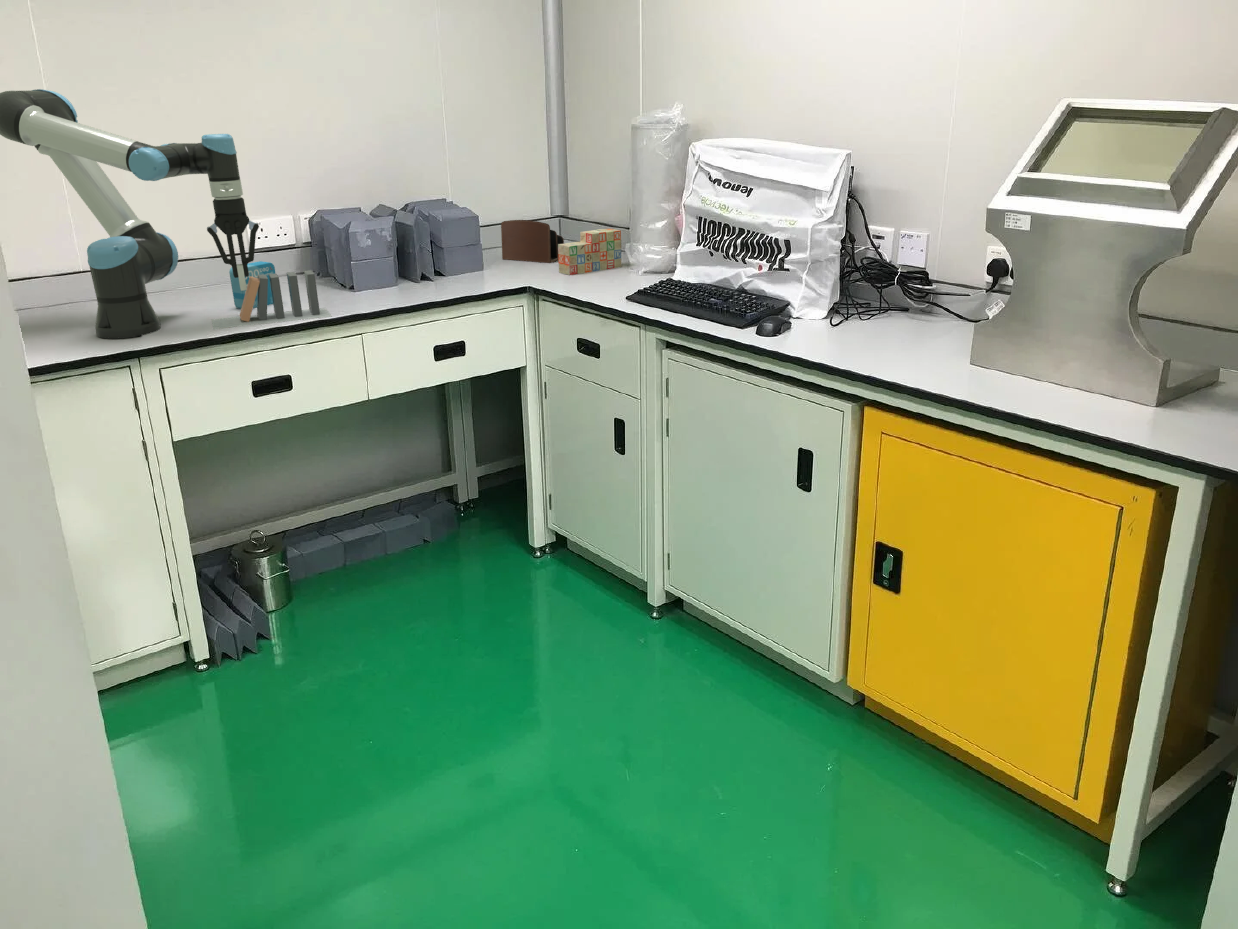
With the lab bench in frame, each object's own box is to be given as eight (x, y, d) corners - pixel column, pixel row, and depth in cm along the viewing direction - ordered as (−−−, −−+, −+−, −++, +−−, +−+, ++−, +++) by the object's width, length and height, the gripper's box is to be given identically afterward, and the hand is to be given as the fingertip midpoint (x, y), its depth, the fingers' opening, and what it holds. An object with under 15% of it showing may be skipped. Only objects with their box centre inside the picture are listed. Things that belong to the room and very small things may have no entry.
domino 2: (259, 319, 261) (259, 278, 258) (257, 315, 266) (257, 274, 263) (266, 319, 262) (267, 278, 259) (264, 315, 267) (265, 274, 264)
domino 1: (241, 319, 260) (251, 279, 257) (239, 315, 265) (250, 275, 262) (248, 321, 260) (259, 282, 258) (247, 317, 266) (257, 278, 263)
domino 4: (294, 317, 265) (289, 276, 261) (292, 312, 270) (286, 272, 266) (302, 316, 266) (296, 275, 261) (299, 311, 271) (294, 271, 267)
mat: (213, 330, 254) (213, 329, 254) (211, 320, 264) (211, 319, 264) (332, 317, 265) (332, 316, 265) (325, 309, 275) (325, 307, 275)
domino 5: (312, 315, 266) (307, 274, 262) (309, 310, 272) (304, 270, 268) (320, 314, 267) (314, 273, 263) (317, 310, 272) (311, 270, 268)
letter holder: (550, 263, 335) (548, 221, 330) (501, 260, 344) (499, 218, 339) (565, 258, 344) (563, 217, 338) (517, 255, 352) (515, 215, 347)
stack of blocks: (569, 275, 314) (568, 236, 310) (558, 273, 319) (556, 234, 314) (622, 267, 327) (621, 229, 322) (610, 264, 331) (609, 227, 327)
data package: (245, 311, 274) (238, 268, 270) (235, 309, 277) (228, 267, 272) (280, 303, 284) (274, 261, 279) (270, 301, 286) (263, 260, 281)
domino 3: (277, 318, 263) (270, 277, 259) (274, 314, 268) (268, 274, 264) (284, 318, 264) (278, 277, 260) (282, 313, 269) (276, 273, 265)
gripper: (200, 200, 246) (218, 294, 254) (255, 196, 250) (270, 289, 259) (200, 198, 252) (216, 289, 261) (253, 194, 257) (268, 284, 265)
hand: (243, 289), depth 260 cm, fingers closed
